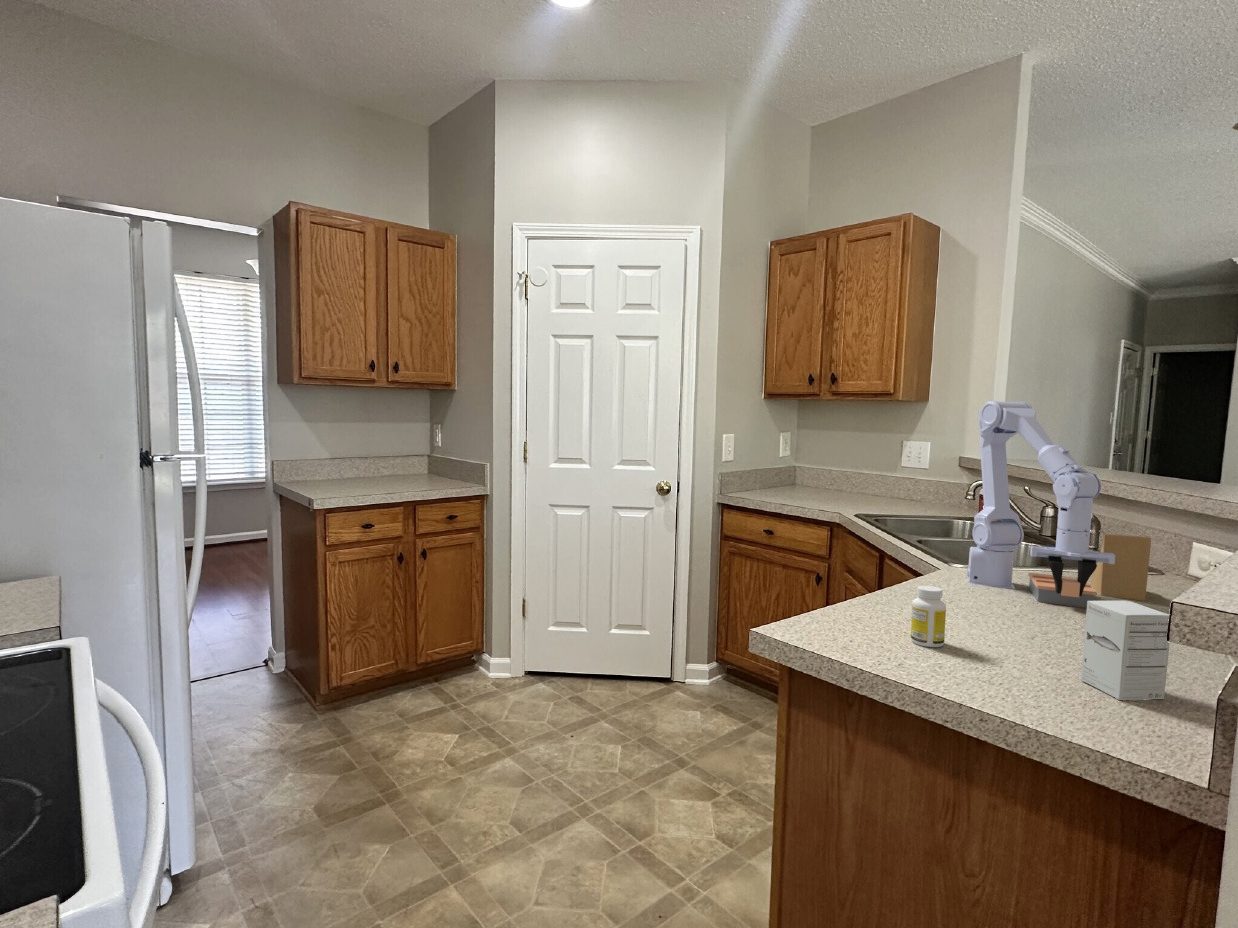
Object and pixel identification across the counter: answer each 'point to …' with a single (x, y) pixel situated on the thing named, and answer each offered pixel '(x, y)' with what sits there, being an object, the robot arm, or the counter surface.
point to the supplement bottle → (928, 617)
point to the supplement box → (1125, 650)
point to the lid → (1068, 584)
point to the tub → (1059, 597)
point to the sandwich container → (1123, 567)
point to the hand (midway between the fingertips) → (1068, 593)
